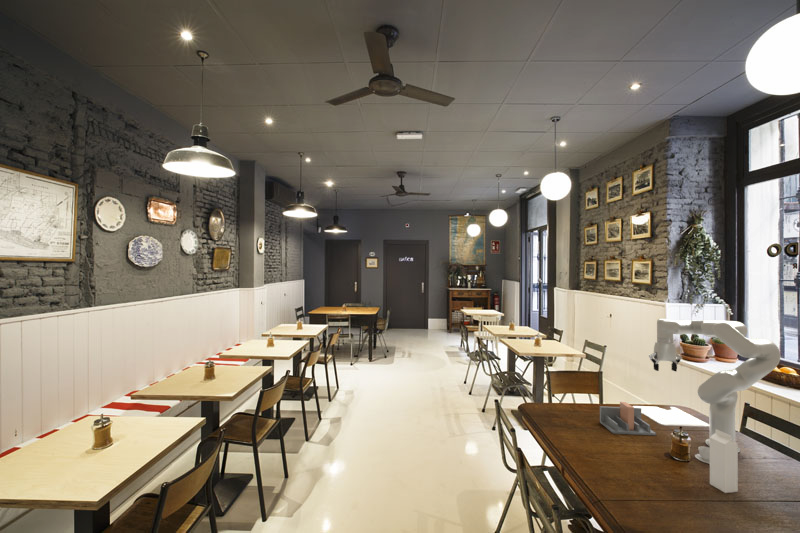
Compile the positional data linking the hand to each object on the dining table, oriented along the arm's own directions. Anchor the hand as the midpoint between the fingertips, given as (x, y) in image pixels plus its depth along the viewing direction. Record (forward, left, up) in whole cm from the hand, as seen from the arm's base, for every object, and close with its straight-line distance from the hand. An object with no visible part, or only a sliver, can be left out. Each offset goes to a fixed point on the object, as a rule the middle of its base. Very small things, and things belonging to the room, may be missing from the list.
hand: (665, 370), depth 201 cm
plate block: (-9, +26, -29) cm, 40 cm away
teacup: (-40, +7, -31) cm, 51 cm away
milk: (-62, +18, -31) cm, 71 cm away
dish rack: (-9, +26, -30) cm, 41 cm away
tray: (+12, -10, -31) cm, 35 cm away
